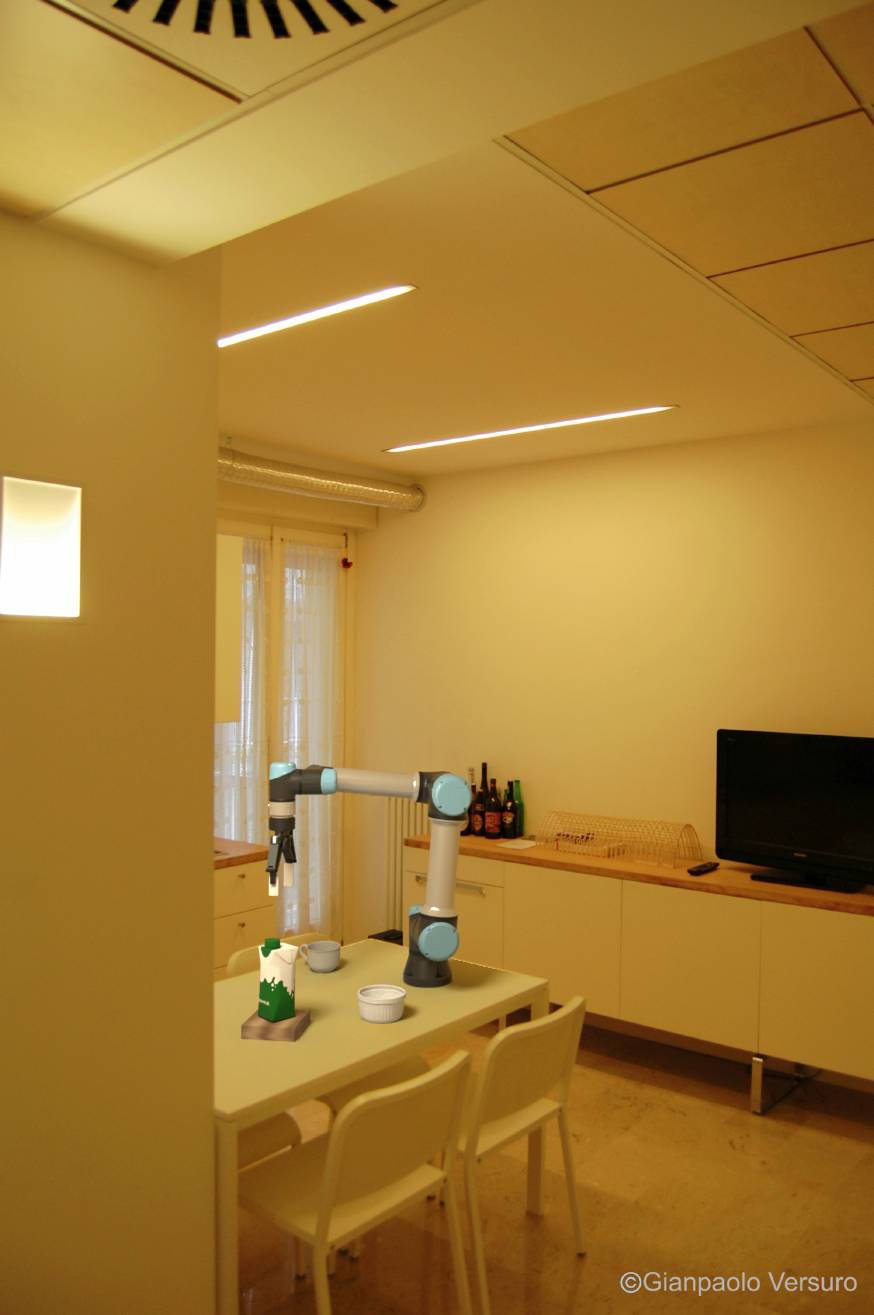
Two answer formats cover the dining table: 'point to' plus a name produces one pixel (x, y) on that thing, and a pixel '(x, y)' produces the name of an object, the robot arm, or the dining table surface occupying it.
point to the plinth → (275, 1027)
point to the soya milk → (277, 980)
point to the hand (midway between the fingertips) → (281, 890)
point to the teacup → (322, 955)
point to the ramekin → (381, 1003)
